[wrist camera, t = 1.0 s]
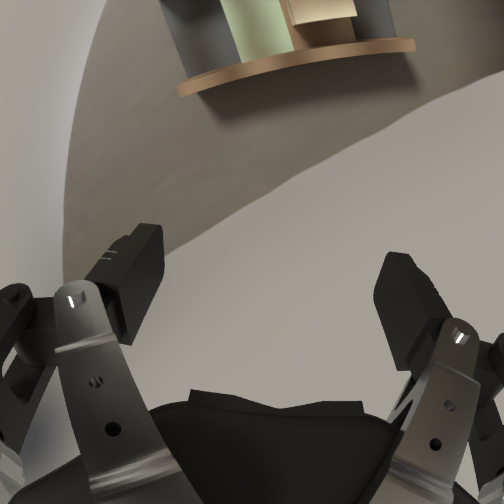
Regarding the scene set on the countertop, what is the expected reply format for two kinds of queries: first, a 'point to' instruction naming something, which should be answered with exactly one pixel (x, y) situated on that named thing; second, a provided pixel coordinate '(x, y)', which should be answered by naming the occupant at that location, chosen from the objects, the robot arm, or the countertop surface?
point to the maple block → (319, 10)
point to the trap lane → (269, 38)
